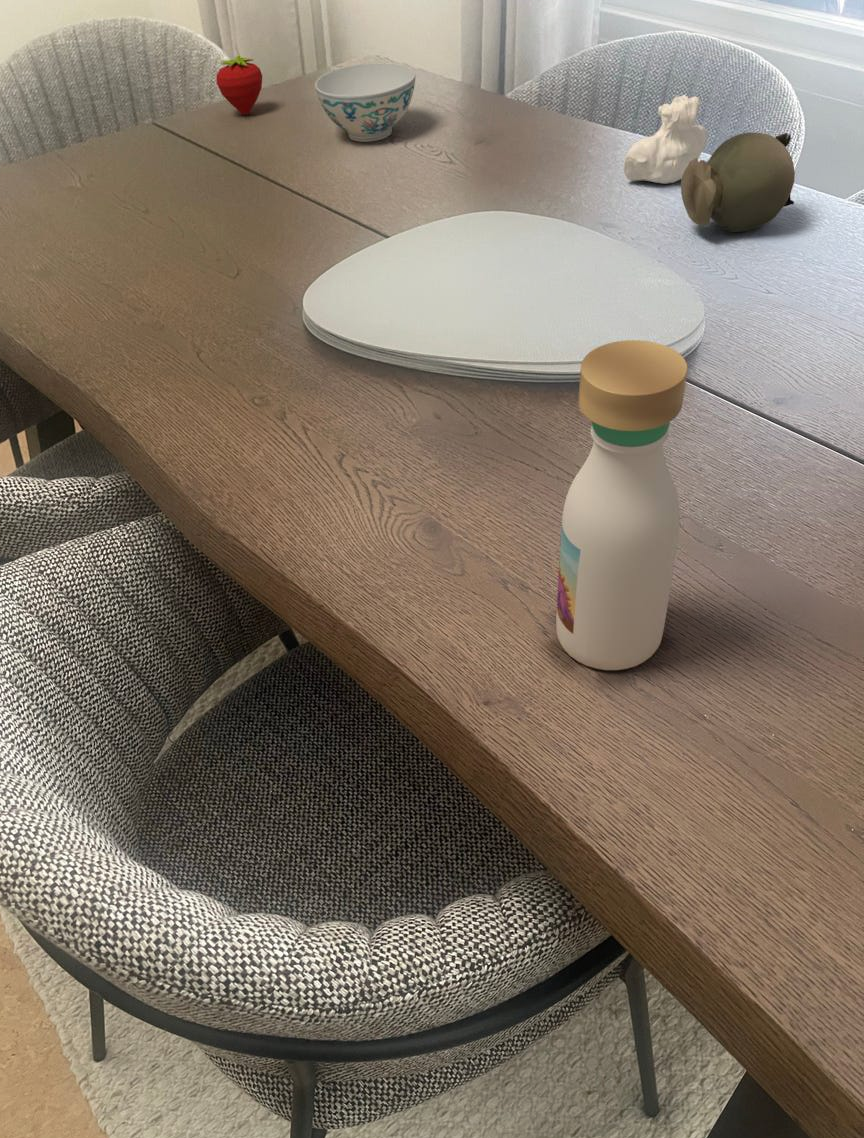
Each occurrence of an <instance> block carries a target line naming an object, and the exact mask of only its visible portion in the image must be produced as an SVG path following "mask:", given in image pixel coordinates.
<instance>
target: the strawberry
mask: <svg viewBox="0 0 864 1138" xmlns="http://www.w3.org/2000/svg"><path fill="white" fill-rule="evenodd" d="M234 47H235V50H236V52H237V54H238V56H235V57H234V59H229V60H228V59H227V60H222V62H221V63H220V65H222V66H223V65H225V66H223V67H221V68H220V69H219V70H218V72H217V73H216V82H215V83H216V85H217V87H218V90H219V91H220V93H221V95H222V96H223V97H224V98H225V100H226V101H228V103H229V104H230V105H232V106H233V107H234V109H236V110H237V111H238V112H239V113H240V114H241V115H242V116H248V115H250V113H251V112H252V110H253V107H254V106H255V104H256V102H257V101H258V98H259V95H260V93H261V90H262V87H263V74H262V71H261V69H260V67H259V66H258V65H256V64H255V63H252V61H255V60H254V58H248V57H241V55H240V52H239V51H238V48H237V46H236V45H234Z"/></svg>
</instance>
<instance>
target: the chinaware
mask: <svg viewBox="0 0 864 1138" xmlns="http://www.w3.org/2000/svg"><path fill="white" fill-rule="evenodd" d="M415 85H416V71H415V70H414V69H413V68H412V66H411V67H410V66H408V65H406V64H402V63H397V62H385V61H380V62H379V61H377V62H375V61H374V62H363V63H356V64H351V65H346V66H342V67H338V68H336V69H332V70H330V71H328V72H326V73H324V74H322V75H321V76H319V77H318V78H317V80H316V81H315V83H314V88H315V91H316V92H315V93H316V94H317V98H318V100H319V103H320V105H321V107H322V109H323V110H324V112H325V114H326V115H327V117H329V119H330V120H331V121H332V122H333V123H334V124H335V125H336V126H338V127H339V128H340V129H341V130H343V131H345V132H346V133H348V134H347V135H348V138H349V139H350V140H352V141H355V142H360V143H361V142H362V143H370V142H377V141H381V140H383V139H385V138H388V137H389V136H390V135H391V134H393V127H394V126H395V125H396V124H397V123H398V122H400V120H401V119H403V116H404V115H405V114H406V112H407V111H408V109H409V107H410V104H411V101H412V98H413V95H414V91H415Z"/></svg>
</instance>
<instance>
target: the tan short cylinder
mask: <svg viewBox="0 0 864 1138" xmlns="http://www.w3.org/2000/svg"><path fill="white" fill-rule="evenodd" d="M685 359H686V358H684V356H682V354H681V353H680V352H678V351H677V350H675V349H674V348H671V347H669V346H668V345H665V344H661V343H658V342H654V341H648V340H636V339H630V340H629V339H628V340H618V341H613V342H609V343H605V344H603V345H600V346H598V347H596V348H594V349H592V350H591V351H589V352H588V353H587V354H586V355H585V356H584V358H583V359H582V361H581V363H580V371H579V388H578V389H579V390H578V407H579V409H580V411H581V413H582V415H584V416H585V418H587V419H588V420H589V421H591V423H592V422H594V423H596V424H598V425H601V426H603V427H607V428H610V429H615V430H621V431H642V430H649V429H653V428H657V427H660V426H662V425H665V424H667V423H668V422H670V423H671V422H672V421H673V420H674V419H676V417H678V416H679V414H680V412H681V411H682V409H683V405H684V397H685V390H686V385H687V384H686V383H687V375H688V364H687V362H686V360H685Z"/></svg>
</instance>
